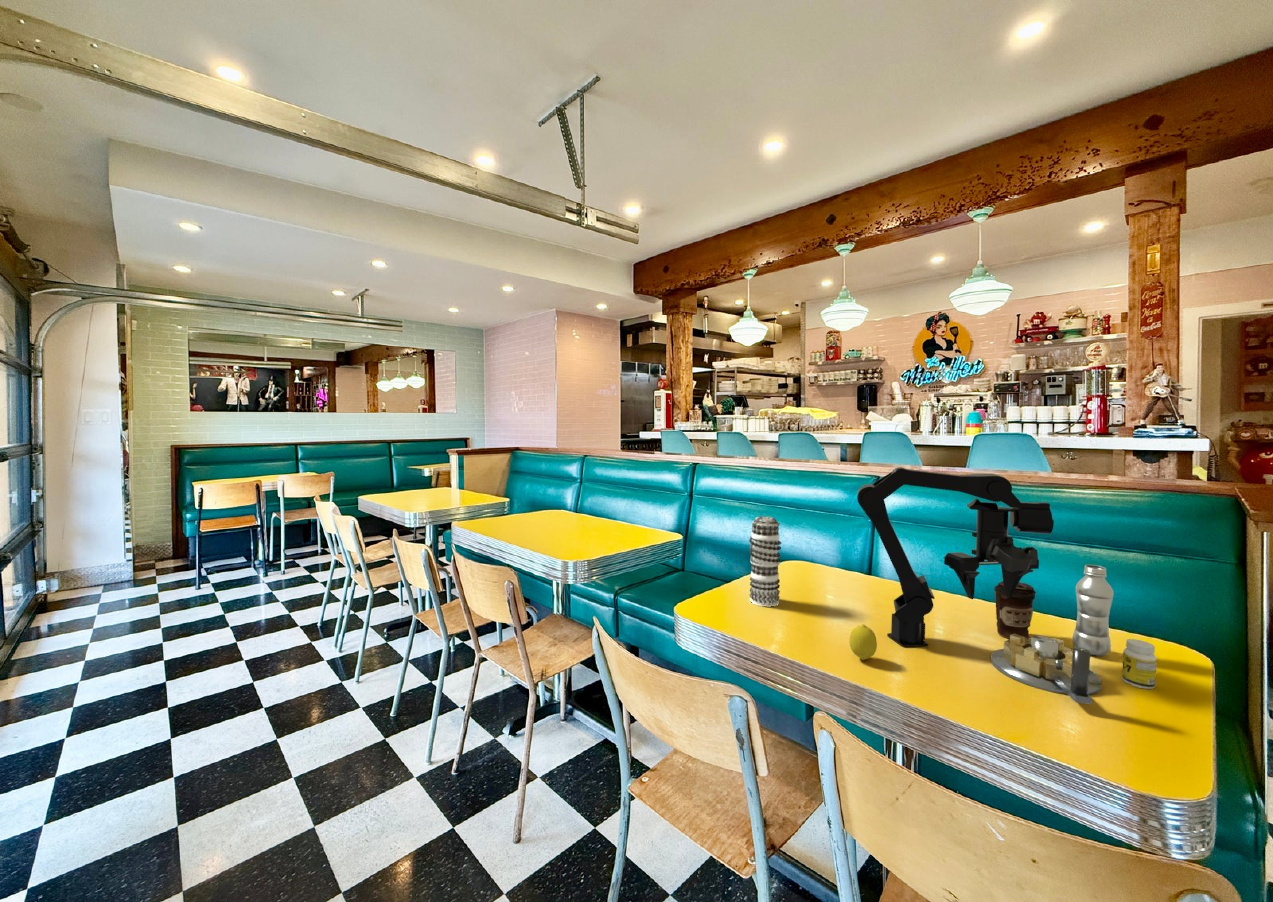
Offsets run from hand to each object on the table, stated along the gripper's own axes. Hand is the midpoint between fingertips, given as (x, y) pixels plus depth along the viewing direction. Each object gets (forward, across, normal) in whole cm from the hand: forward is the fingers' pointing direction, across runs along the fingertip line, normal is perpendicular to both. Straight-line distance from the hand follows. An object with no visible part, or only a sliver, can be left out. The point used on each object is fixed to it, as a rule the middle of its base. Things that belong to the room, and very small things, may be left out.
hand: (989, 597), depth 112 cm
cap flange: (+13, +5, -9) cm, 16 cm away
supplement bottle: (+13, +20, -15) cm, 28 cm away
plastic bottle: (+13, +24, -2) cm, 27 cm away
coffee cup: (+13, +14, +8) cm, 21 cm away
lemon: (+13, -30, 0) cm, 33 cm away
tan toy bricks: (+11, +3, -13) cm, 18 cm away
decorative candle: (+13, -39, +37) cm, 55 cm away
